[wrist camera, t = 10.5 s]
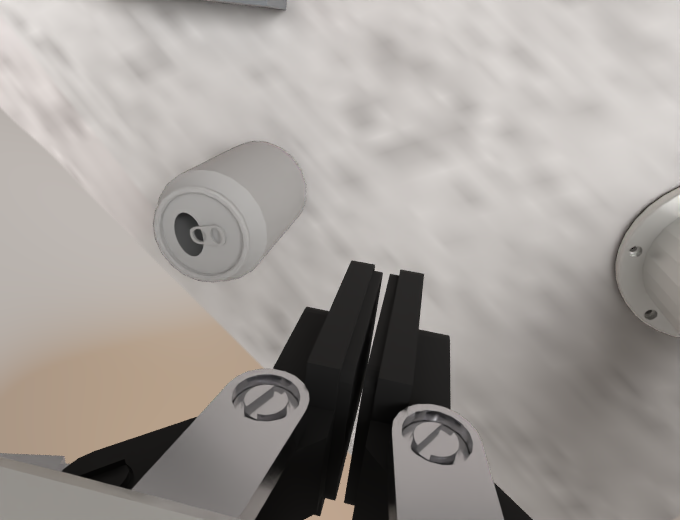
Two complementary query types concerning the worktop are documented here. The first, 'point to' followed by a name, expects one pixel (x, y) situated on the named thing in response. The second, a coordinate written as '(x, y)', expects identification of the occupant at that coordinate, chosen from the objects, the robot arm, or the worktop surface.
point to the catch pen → (257, 3)
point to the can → (229, 211)
